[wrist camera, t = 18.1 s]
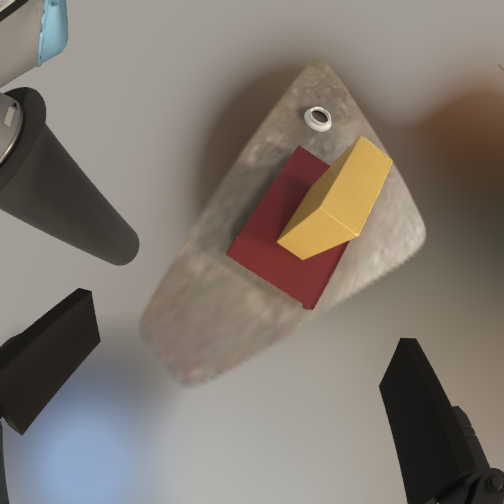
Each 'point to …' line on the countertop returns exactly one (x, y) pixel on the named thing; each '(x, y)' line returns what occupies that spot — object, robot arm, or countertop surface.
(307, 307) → the big book
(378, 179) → the small book
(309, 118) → the upside-down white bowl
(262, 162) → the countertop surface
